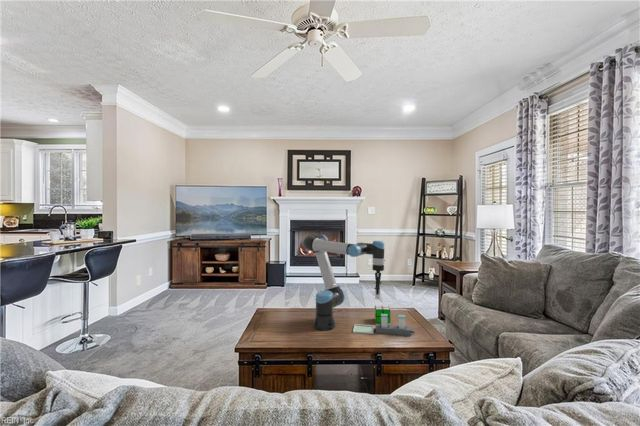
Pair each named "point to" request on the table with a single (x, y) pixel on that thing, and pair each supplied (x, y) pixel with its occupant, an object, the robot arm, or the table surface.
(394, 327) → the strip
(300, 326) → the table surface
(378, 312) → the puzzle cube
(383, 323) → the plug
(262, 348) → the table surface
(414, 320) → the table surface
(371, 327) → the tray
